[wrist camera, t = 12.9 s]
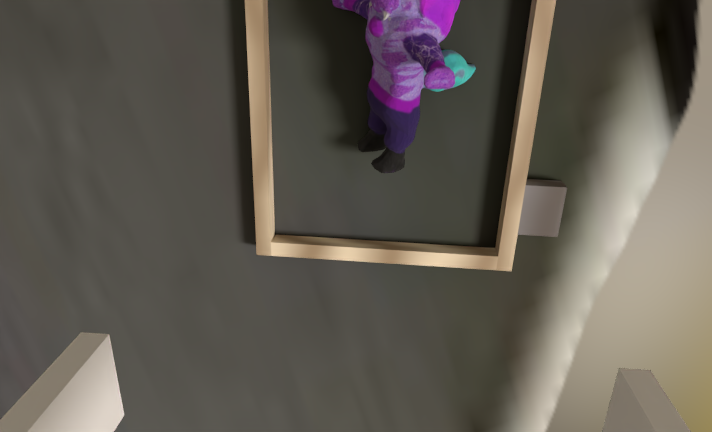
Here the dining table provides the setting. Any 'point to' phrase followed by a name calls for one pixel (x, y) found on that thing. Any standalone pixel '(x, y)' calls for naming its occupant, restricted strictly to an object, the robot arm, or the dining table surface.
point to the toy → (404, 69)
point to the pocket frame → (518, 216)
